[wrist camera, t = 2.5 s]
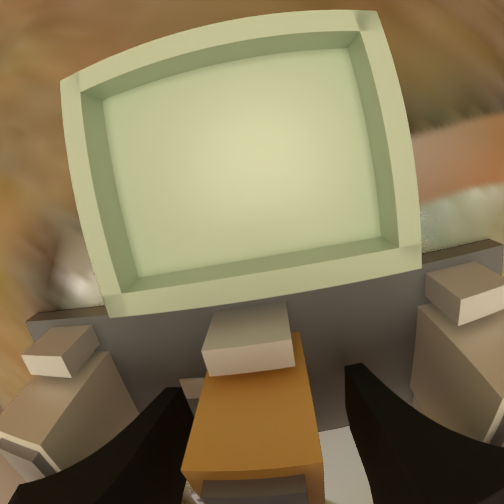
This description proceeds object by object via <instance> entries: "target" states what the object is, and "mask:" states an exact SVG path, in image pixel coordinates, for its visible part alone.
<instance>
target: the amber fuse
mask: <svg viewBox="0 0 504 504" xmlns="http://www.w3.org/2000/svg"><path fill="white" fill-rule="evenodd" d="M291 339H292V346H293V353H294V360H295V366H294V367H287V368H281V369H274V370H266V371H259V372H250V373H242V374H232V375H222V376H209V373H208V370H207V373H206V376H205V380H204V384H203V387H202V391H201V395H200V399H199V402H198V406H197V410H196V414H195V417H194V421H193V425H192V429H191V432H190V436H189V440H188V444H187V448H186V451H185V455H184V459H183V463H182V467H181V472H182V473H183V475H184V476H185V478H186V479H187V481H188V482H189V484H190V485H191V486H192V488H193V489H194V491H195V492H196V493H197V495H198V496H199V498H200V499H201V500H202V502H203V503H204V504H325V494H324V470H323V458H322V453H321V446H320V440H319V434H318V429H317V423H316V417H315V412H314V406H313V401H312V395H311V390H310V384H309V379H308V374H307V369H306V363H305V358H304V353H303V348H302V343H301V338H300V333H299V332H294V333H291Z"/></svg>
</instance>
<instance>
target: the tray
mask: <svg viewBox="0 0 504 504" xmlns="http://www.w3.org/2000/svg"><path fill="white" fill-rule="evenodd" d="M60 88H61V103H62V115H63V125H64V134H65V142H66V149H67V156H68V163H69V169H70V175H71V180H72V186H73V191H74V196H75V201H76V205H77V210H78V214H79V218H80V223H81V227H82V231H83V235H84V239H85V242H86V246H87V250H88V253H89V257H90V260H91V264H92V267H93V270H94V274H95V277H96V280H97V283H98V286H99V289H100V292H101V295H102V298H103V301H104V304H105V307H106V309H107V312H108V315H109V318H116V317H126V316H135V315H145V314H153V313H162V312H170V311H179V310H187V309H194V308H202V307H209V306H216V305H223V304H230V303H237V302H244V301H251V300H257V299H263V298H270V297H276V296H282V295H288V294H294V293H300V292H305V291H311V290H317V289H322V288H328V287H333V286H338V285H344V284H349V283H354V282H359V281H364V280H369V279H374V278H379V277H384V276H389V275H393V274H398V273H403V272H407V271H412V270H416V269H421V268H422V248H421V223H420V208H419V198H418V188H417V178H416V169H415V162H414V156H413V148H412V142H411V136H410V131H409V125H408V120H407V115H406V110H405V106H404V101H403V97H402V93H401V89H400V85H399V81H398V77H397V73H396V69H395V66H394V62H393V59H392V56H391V52H390V49H389V46H388V43H387V40H386V37H385V34H384V31H383V28H382V25H381V22H380V20H379V17H378V14H377V12H376V11H366V10H314V11H297V12H285V13H276V14H267V15H260V16H253V17H247V18H241V19H235V20H230V21H225V22H220V23H215V24H211V25H206V26H202V27H198V28H194V29H190V30H187V31H183V32H179V33H176V34H172V35H169V36H166V37H163V38H160V39H156V40H153V41H151V42H148V43H145V44H142V45H139V46H136V47H134V48H131V49H128V50H126V51H123V52H121V53H118V54H116V55H113V56H111V57H109V58H106V59H104V60H102V61H100V62H97V63H95V64H93V65H91V66H89V67H87V68H85V69H82V70H80V71H78V72H76V73H74V74H72V75H70V76H69V77H67V78H65V79H63V80H61V81H60Z"/></svg>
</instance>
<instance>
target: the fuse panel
mask: <svg viewBox="0 0 504 504" xmlns="http://www.w3.org/2000/svg"><path fill="white" fill-rule="evenodd" d="M503 249H504V245H503V244H501V243H498V242H496V241H493V240H491V239H488V240H484V241H479V242H475V243H470V244H466V245H462V246H457V247H453V248H448V249H443V250H439V251H434V252H429V253H425V254H422V268H421V269H416V270H412V271H407V272H403V273H398V274H393V275H389V276H384V277H379V278H374V279H369V280H364V281H359V282H354V283H349V284H344V285H338V286H333V287H328V288H322V289H317V290H311V291H305V292H300V293H294V294H288V295H282V296H276V297H270V298H263V299H257V300H251V301H244V302H237V303H230V304H223V305H216V306H209V307H202V308H194V309H187V310H179V311H170V312H162V313H153V314H145V315H135V316H126V317H116V318H109V315H108V312H107V309H106V307H105V306H98V307H90V308H81V309H71V310H62V311H52V312H42V313H36V314H35V315H34V316H32V317H31V318H30V319H28V320H27V321H26V325H27V327H28V329H29V332H30V334H31V336H32V338H33V341H34V344H32V345H31V346H30V347H29V348H28V349H27V350H26V351H25V352H24V353H22V354H21V356H22V358H23V360H24V362H25V364H26V366H27V368H28V370H29V372H30V373H31V374H32V375H36V376H35V377H34V378H33V379H32V380H31V381H30V382H29V383H28V384H27V385H26V387H25V388H24V389H23V390H22V391H21V392H20V393H19V394H18V395H17V396H16V398H15V399H14V400H13V401H12V402H11V403H10V404H9V405H8V406H7V408H6V409H5V410H4V411H3V412H2V413H1V414H0V453H1V454H2V455H3V456H4V457H5V459H6V460H7V461H8V462H9V463H10V464H11V465H12V466H13V468H14V469H15V470H16V471H17V472H18V473H19V474H20V475H21V476H22V477H23V478H24V479H25V480H26V481H27V483H28V482H31V481H35V480H38V479H42V478H44V477H47V476H50V475H52V474H55V473H57V472H60V471H62V470H64V469H66V468H68V467H70V466H72V465H74V464H76V463H77V462H79V461H81V460H83V459H85V458H86V457H88V456H90V455H91V454H93V453H94V452H96V451H97V450H98V449H100V448H101V447H103V446H104V445H105V444H107V443H108V442H109V441H111V440H112V439H113V438H114V437H115V436H116V435H118V434H119V433H120V432H121V431H122V430H123V429H124V428H125V427H127V426H128V425H129V424H130V423H131V422H132V421H133V420H134V419H135V418H136V417H137V416H138V415H139V414H140V413H141V412H142V411H143V410H144V409H145V408H146V407H147V406H148V405H149V404H150V403H151V402H152V401H153V400H154V399H155V398H156V397H157V396H158V395H159V394H160V393H161V392H162V391H163V390H164V389H165V388H166V387H182V390H183V392H184V395H185V397H186V399H187V402H188V404H189V406H190V409H191V411H192V413H193V415H194V417H195V414H196V410H197V406H198V402H199V399H200V395H201V391H202V387H203V384H204V380H205V376H206V373H207V370H208V373H209V376H222V375H232V374H242V373H250V372H259V371H266V370H274V369H281V368H287V367H294V366H295V360H294V353H293V346H292V339H291V333H294V332H299V333H300V338H301V343H302V348H303V353H304V358H305V363H306V369H307V374H308V379H309V384H310V390H311V395H312V401H313V406H314V412H315V417H316V423H317V429H318V432H321V431H326V430H331V429H337V428H341V427H346V426H349V422H348V417H347V413H346V408H345V370H344V366H347V365H352V364H356V363H361V362H362V363H363V364H364V365H365V366H366V367H367V368H368V369H369V370H370V371H371V372H372V373H373V374H374V375H375V376H376V377H377V378H379V379H380V380H381V381H382V382H383V383H384V384H385V385H386V386H387V387H388V388H389V389H391V390H392V391H393V392H394V393H395V394H397V395H398V396H399V397H400V398H401V399H403V400H404V401H405V402H407V403H408V404H409V405H411V406H412V407H413V408H415V409H416V410H418V411H419V412H421V413H422V414H424V415H425V416H427V417H428V418H430V419H432V420H433V421H435V422H437V423H439V424H440V425H442V426H444V427H446V428H448V429H450V430H453V431H455V432H457V433H460V434H462V435H464V436H467V437H469V438H472V439H475V440H478V441H481V442H484V443H488V444H491V445H495V446H500V447H504V277H502V276H501V275H502V264H503Z"/></svg>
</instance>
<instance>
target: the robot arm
mask: <svg viewBox="0 0 504 504" xmlns="http://www.w3.org/2000/svg"><path fill="white" fill-rule="evenodd" d="M344 370H345V408H346V413H347V417H348V422H349V426H350V430H351V433H352V435H353V438H354V441H355V444H356V447H357V449H358V452H359V455H360V458H361V460H362V463H363V466H364V469H365V472H366V475H367V478H368V481H369V485H370V489H371V493H372V498H373V503H374V504H504V447H500V446H495V445H491V444H488V443H484V442H481V441H478V440H475V439H472V438H469V437H467V436H464V435H462V434H460V433H457V432H455V431H453V430H450V429H448V428H446V427H444V426H442V425H440V424H439V423H437V422H435V421H433V420H432V419H430V418H428V417H427V416H425V415H424V414H422V413H421V412H419V411H418V410H416V409H415V408H413V407H412V406H411V405H409V404H408V403H407V402H405V401H404V400H403V399H401V398H400V397H399V396H398V395H397V394H395V393H394V392H393V391H392V390H391V389H389V388H388V387H387V386H386V385H385V384H384V383H383V382H382V381H381V380H380V379H379V378H377V377H376V376H375V375H374V374H373V373H372V372H371V371H370V370H369V369H368V368H367V367H366V366H365V365H364V364H363V363H362V362H361V363H356V364H352V365H347V366H344ZM193 421H194V415H193V413H192V411H191V409H190V406H189V404H188V402H187V399H186V397H185V395H184V392H183V390H182V387H166V388H165V389H164V390H163V391H162V392H161V393H160V394H159V395H158V396H157V397H156V398H155V399H154V400H153V401H152V402H151V403H150V404H149V405H148V406H147V407H146V408H145V409H144V410H143V411H142V412H141V413H140V414H139V415H138V416H137V417H136V418H135V419H134V420H133V421H132V422H131V423H130V424H129V425H128V426H127V427H125V428H124V429H123V430H122V431H121V432H120V433H119V434H118V435H116V436H115V437H114V438H113V439H112V440H111V441H109V442H108V443H107V444H105V445H104V446H103V447H101V448H100V449H98V450H97V451H96V452H94V453H93V454H91V455H90V456H88V457H86V458H85V459H83V460H81V461H79V462H77V463H76V464H74V465H72V466H70V467H68V468H66V469H64V470H62V471H60V472H57V473H55V474H52V475H50V476H47V477H44V478H42V479H38V480H35V481H31V482H28V483H24V484H20V485H19V486H18V487H17V489H16V491H15V493H14V494H13V496H12V498H11V499H10V501H9V503H8V504H181V501H182V496H183V491H184V487H185V484H186V480H187V479H186V478H185V476H184V475H183V473H182V472H181V467H182V463H183V459H184V455H185V451H186V448H187V444H188V440H189V436H190V432H191V429H192V425H193ZM191 497H192V498H193V499H194V501H195V502H196V503H197V504H204V503H203V502H202V500H201V499H200V498H199V496H198V495H197V493H196V492H195V491H194V490H193V491H192V492H191Z"/></svg>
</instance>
